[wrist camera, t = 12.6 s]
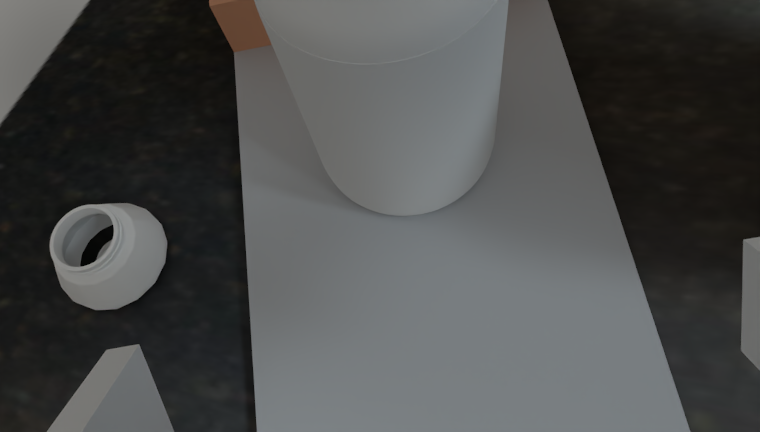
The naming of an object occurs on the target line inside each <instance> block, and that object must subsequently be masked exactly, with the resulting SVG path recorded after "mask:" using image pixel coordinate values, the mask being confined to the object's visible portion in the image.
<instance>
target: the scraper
mask: <svg viewBox="0 0 760 432" xmlns="http://www.w3.org/2000/svg"><path fill="white" fill-rule="evenodd" d="M209 6H210V8H211V10H212V12H213V14H214V16H215V17H216V19H217V21H218V23H219V25H220V27H221V29H222V31H223V33H224V34H225V36H226V38H227V40H228V42H229V44H230V46H231V48H232V49H233V51H234V61H235V77H236V94H237V110H238V127H239V143H240V160H241V176H242V193H243V209H244V226H245V242H246V258H247V275H248V291H249V308H250V324H251V341H252V357H253V374H254V390H255V407H256V423H257V432H690V429H689V426H688V423H687V420H686V417H685V414H684V411H683V408H682V405H681V402H680V399H679V396H678V393H677V390H676V387H675V384H674V381H673V378H672V375H671V372H670V369H669V366H668V362H667V359H666V356H665V353H664V350H663V347H662V344H661V341H660V338H659V335H658V332H657V329H656V326H655V323H654V320H653V317H652V314H651V311H650V308H649V305H648V302H647V299H646V296H645V293H644V290H643V287H642V284H641V281H640V278H639V275H638V272H637V269H636V266H635V263H634V260H633V257H632V254H631V251H630V248H629V245H628V242H627V239H626V236H625V233H624V230H623V226H622V223H621V220H620V217H619V214H618V211H617V208H616V205H615V202H614V199H613V196H612V193H611V190H610V187H609V184H608V181H607V178H606V175H605V172H604V169H603V166H602V163H601V160H600V157H599V154H598V151H597V148H596V145H595V142H594V139H593V136H592V133H591V130H590V127H589V124H588V121H587V118H586V115H585V112H584V109H583V106H582V103H581V100H580V97H579V94H578V90H577V87H576V84H575V81H574V78H573V75H572V72H571V69H570V66H569V63H568V60H567V57H566V54H565V51H564V48H563V45H562V42H561V39H560V36H559V33H558V30H557V27H556V24H555V21H554V18H553V15H552V12H551V9H550V6H549V3H548V0H509V2H508V12H507V23H506V33H505V43H504V53H503V63H502V73H501V83H500V93H499V103H498V113H497V123H496V133H495V141H494V146H493V149H492V153H491V156H490V159H489V161H488V164H487V166H486V168H485V170H484V172H483V173H482V175H481V176H480V178H479V179H478V181H477V182H476V183H475V184H474V185H473V187H472V188H471V189H470V190H469V191H467V192H466V193H465V194H464V195H463V196H461V197H460V198H459V199H457V200H456V201H454V202H453V203H451V204H449V205H447V206H445V207H443V208H441V209H438V210H435V211H432V212H429V213H425V214H420V215H412V216H394V215H387V214H382V213H378V212H375V211H372V210H369V209H367V208H365V207H362V206H361V205H359V204H357V203H355V202H354V201H352V200H351V199H350V198H348V197H347V196H346V195H345V194H344V193H343V192H341V190H340V189H339V188H338V187H337V186H336V185H335V184H334V182H333V181H332V179H331V178H330V176H329V175H328V173H327V172H326V170H325V168H324V166H323V164H322V161H321V159H320V157H319V154H318V152H317V150H316V147H315V145H314V143H313V140H312V138H311V136H310V133H309V131H308V129H307V126H306V124H305V121H304V119H303V117H302V114H301V112H300V110H299V107H298V105H297V103H296V100H295V98H294V96H293V93H292V91H291V89H290V86H289V84H288V82H287V79H286V77H285V74H284V72H283V70H282V67H281V65H280V63H279V60H278V58H277V56H276V53H275V51H274V49H273V46H272V44H271V42H270V39H269V37H268V34H267V32H266V30H265V27H264V25H263V23H262V20H261V18H260V15H259V13H258V10H257V8H256V5H255V2H254V0H209Z"/></svg>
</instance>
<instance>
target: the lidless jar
mask: <svg viewBox="0 0 760 432" xmlns="http://www.w3.org/2000/svg"><path fill="white" fill-rule="evenodd" d="M111 225H113V227H114V234H113V239H112V240H111V241H109V242H107V243H106V244H105V245H104V246H103V247H102V248H101V250H100V251H99V253H98V256H97V260H96V261H95V262H93V263H91V264H89V265H86V266H82V267H80V263H81V257H82V253H83V251H84V250H85V248H86V246H87V244H88V243H89V241H90V240H91V239H92V238H93V237H94V236H95V235H96V234H97V233H98V232H100V231H101V230H102V229H104V228H107V227H109V226H111ZM166 251H167V239H166V236H165V233H164V230H163V227H162V224H161V223H160V222H159V221H158V220H157V219H156V218H155V217H154V216H153V215H152V214H151V213H150V212H149V211H147V210H146V209H144V208H141V207H138V206H135V205H132V204H129V203H112V204H98V205H94V204H90V205H83V206H80V207H77V208H75V209H73V210H71V211H70V212H68V213H67V214H66V215H65V216H63V217H62V218H61V220H60V221H59V222H58V223H57V225H56V226H55V228H54V230H53V232H52V235H51V238H50V253H51V257H52V259H53V261H54V265H55V270H56V273H57V276H58V279H59V282H60V285H61V288H62V289H63V290H64V291H65V292H66V293H67V295H68V296H69V297H70V298H71V299H72V300H73V301H74V302H76V303H78V304H81V305H83V306H86V307H88V308H91V309H94V310H109V309H118V308H120V307H123V306H125V305H127V304H129V303H131V302H133V301H135V300H138V299H139V298H140V297H141V296H142V295H143V294H144V293H145V292H146V291H147V290H148V289H149V288H150V287H151V286H152V285H153V284H154V283H155V282H156V280H157V278H158V276H159V274H160V272H161V270H162V268H163V266H164V264H165V260H166Z"/></svg>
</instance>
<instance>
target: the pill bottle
mask: <svg viewBox="0 0 760 432" xmlns="http://www.w3.org/2000/svg"><path fill="white" fill-rule="evenodd" d="M254 2H255V5H256V8H257V10H258V13H259V15H260V18H261V20H262V23H263V25H264V27H265V30H266V32H267V34H268V37H269V39H270V42H271V44H272V46H273V49H274V51H275V53H276V56H277V58H278V60H279V63H280V65H281V67H282V70H283V72H284V74H285V77H286V79H287V82H288V84H289V86H290V89H291V91H292V93H293V96H294V98H295V100H296V103H297V105H298V107H299V110H300V112H301V114H302V117H303V119H304V121H305V124H306V126H307V129H308V131H309V133H310V136H311V138H312V140H313V143H314V145H315V147H316V150H317V152H318V154H319V157H320V159H321V161H322V164H323V166H324V168H325V170H326V172H327V173H328V175H329V176H330V178H331V179H332V181H333V182H334V184H335V185H336V186H337V187H338V188H339V189H340V190H341V192H343V193H344V194H345V195H346V196H347V197H348V198H350V199H351V200H352V201H354V202H355V203H357V204H359V205H361V206H362V207H365V208H367V209H369V210H372V211H375V212H378V213H382V214H387V215H394V216H412V215H420V214H425V213H429V212H432V211H435V210H438V209H441V208H443V207H445V206H447V205H449V204H451V203H453V202H454V201H456V200H457V199H459V198H460V197H461V196H463V195H464V194H465V193H466V192H467V191H469V190H470V189H471V188H472V187H473V185H474V184H475V183H476V182H477V181H478V179H479V178H480V176H481V175H482V173H483V172H484V170H485V168H486V166H487V164H488V161H489V159H490V156H491V153H492V149H493V146H494V141H495V133H496V123H497V113H498V103H499V93H500V83H501V73H502V63H503V53H504V43H505V33H506V23H507V12H508V2H509V0H254Z"/></svg>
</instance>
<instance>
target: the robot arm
mask: <svg viewBox="0 0 760 432" xmlns="http://www.w3.org/2000/svg"><path fill="white" fill-rule="evenodd" d="M741 351H742V352H743V353H744V354H745V356H746V357H747V358H748V359H749V360H750V361H751V362H752V363H753V364H754V365H755V366H756V367H757V368H758V369H759V370H760V237H756V238H750V239H744V240H743V276H742V329H741ZM47 432H174V430H173V427H172V425H171V422H170V420H169V417H168V415H167V412H166V410H165V407H164V405H163V402H162V400H161V397H160V395H159V392H158V390H157V387H156V385H155V382H154V380H153V378H152V375H151V373H150V370H149V368H148V365H147V363H146V360H145V358H144V355H143V353H142V350H141V348H140V345H139V344H137V345H131V346H125V347H120V348H114V349H108V350H106V351H105V353H104V354H103V355H102V357H101V358H100V359H99V361H98V362H97V363H96V365H95V366H94V368H93V369H92V370H91V372H90V373H89V374H88V376H87V377H86V379H85V380H84V381H83V383H82V384H81V385H80V387H79V388H78V389H77V391H76V392H75V394H74V395H73V396H72V398H71V399H70V400H69V402H68V403H67V405H66V406H65V407H64V409H63V410H62V411H61V413H60V414H59V416H58V417H57V418H56V420H55V421H54V422H53V424H52V425H51V426H50V428H49V429H48V431H47Z"/></svg>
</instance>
